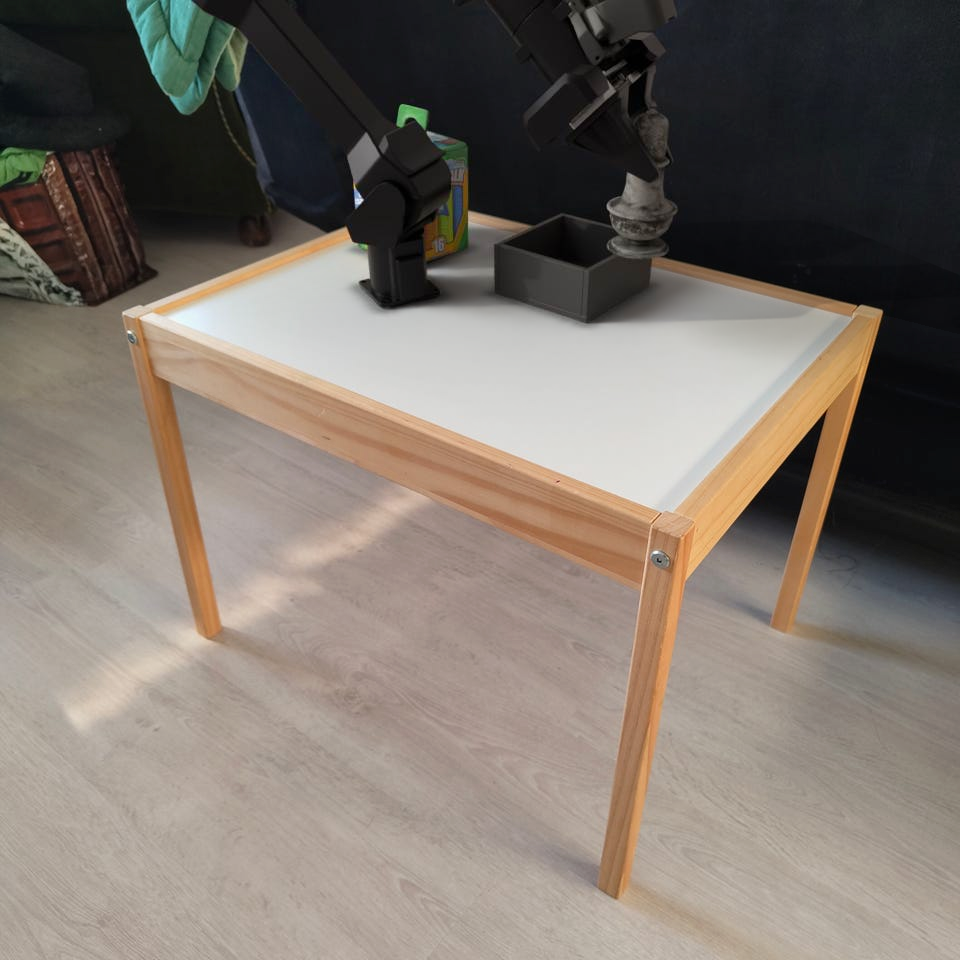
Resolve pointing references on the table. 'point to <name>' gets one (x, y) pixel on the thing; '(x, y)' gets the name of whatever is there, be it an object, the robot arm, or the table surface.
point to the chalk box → (453, 215)
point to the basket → (567, 268)
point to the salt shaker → (644, 198)
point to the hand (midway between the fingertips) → (661, 172)
